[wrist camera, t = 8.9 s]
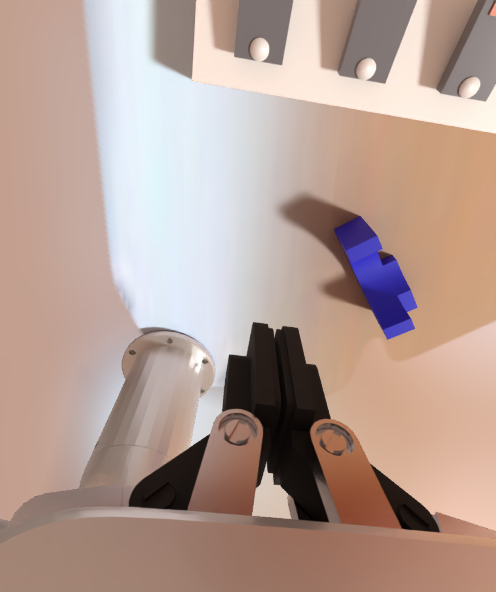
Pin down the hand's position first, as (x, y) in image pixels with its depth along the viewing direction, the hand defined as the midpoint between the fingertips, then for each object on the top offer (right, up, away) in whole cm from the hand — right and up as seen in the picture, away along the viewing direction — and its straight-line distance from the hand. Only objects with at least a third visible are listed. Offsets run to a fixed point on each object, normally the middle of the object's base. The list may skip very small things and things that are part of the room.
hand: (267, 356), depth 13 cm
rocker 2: (+8, +21, +11) cm, 25 cm away
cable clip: (+13, +6, +26) cm, 30 cm away
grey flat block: (+16, +20, +12) cm, 28 cm away
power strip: (+11, +23, +16) cm, 30 cm away
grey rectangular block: (0, +22, +11) cm, 25 cm away
